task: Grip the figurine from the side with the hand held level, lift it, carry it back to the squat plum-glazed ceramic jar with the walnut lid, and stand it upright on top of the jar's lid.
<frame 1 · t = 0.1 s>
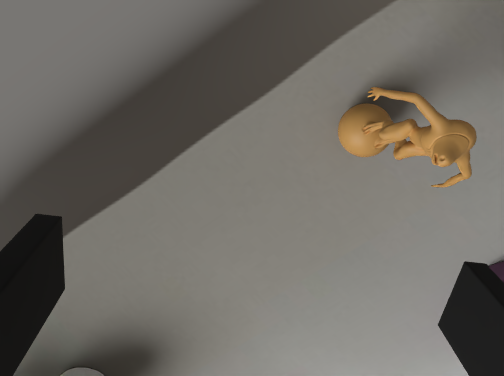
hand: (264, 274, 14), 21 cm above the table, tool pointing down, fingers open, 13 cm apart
figurine: (368, 114, 33), on the table
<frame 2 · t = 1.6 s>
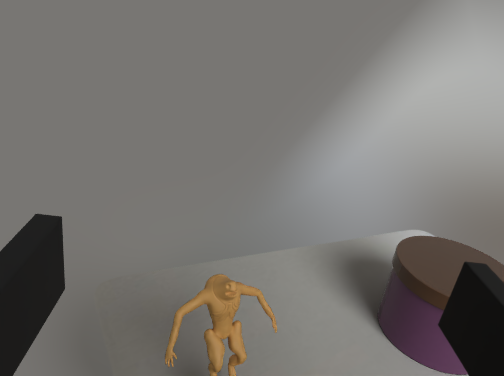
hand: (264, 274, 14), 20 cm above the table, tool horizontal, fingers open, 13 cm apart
jar: (430, 331, 43), on the table
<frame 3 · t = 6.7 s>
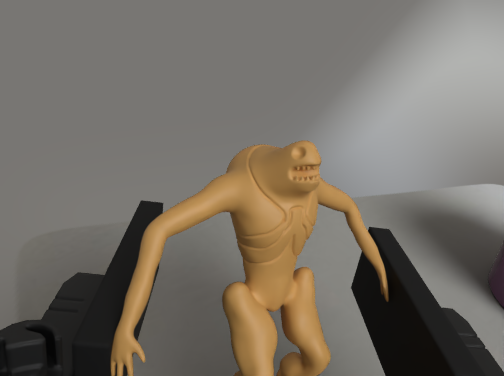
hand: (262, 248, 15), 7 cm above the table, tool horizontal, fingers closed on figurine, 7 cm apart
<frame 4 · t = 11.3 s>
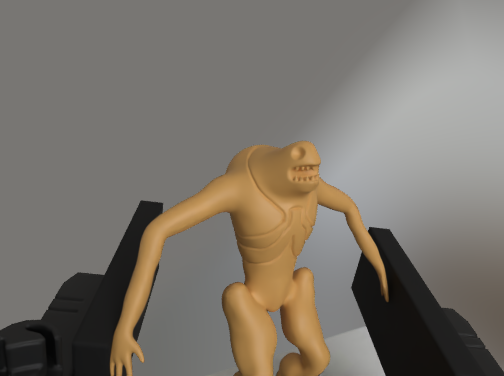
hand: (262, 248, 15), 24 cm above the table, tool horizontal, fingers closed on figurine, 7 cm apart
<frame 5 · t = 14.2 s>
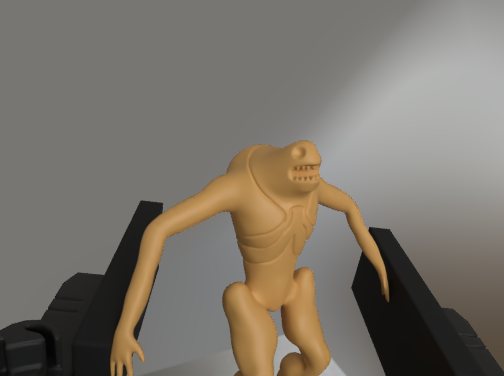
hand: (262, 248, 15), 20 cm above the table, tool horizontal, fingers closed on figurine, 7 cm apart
when the fingers open (15 cm above the table, at t = 16.2 s): figurine stays where it is, resting on jar.
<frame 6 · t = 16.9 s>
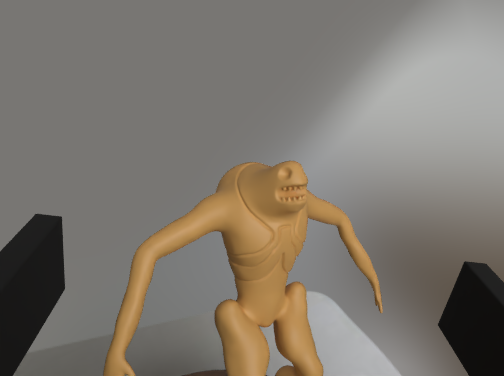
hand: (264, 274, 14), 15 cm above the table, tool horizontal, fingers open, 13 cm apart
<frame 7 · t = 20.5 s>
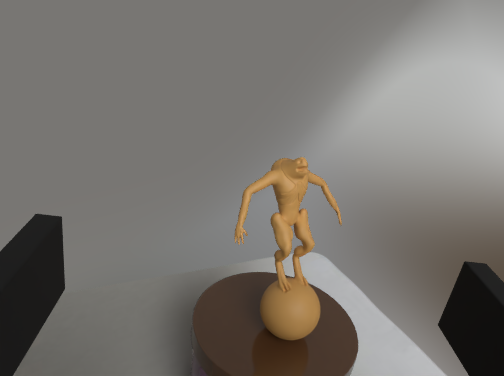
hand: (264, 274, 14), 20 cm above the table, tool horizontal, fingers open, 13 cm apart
figurine: (276, 323, 29), point 8 cm above the table, touching jar
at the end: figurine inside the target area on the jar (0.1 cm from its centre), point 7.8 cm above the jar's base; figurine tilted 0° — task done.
